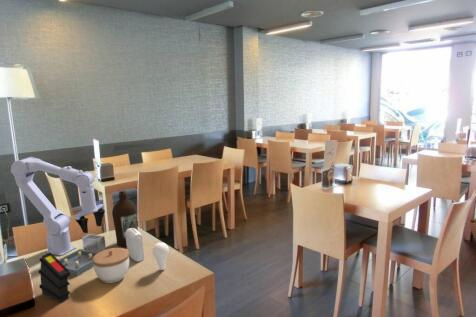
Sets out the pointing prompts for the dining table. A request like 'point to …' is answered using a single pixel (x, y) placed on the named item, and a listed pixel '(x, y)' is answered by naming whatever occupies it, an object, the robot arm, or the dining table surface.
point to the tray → (78, 261)
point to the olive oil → (124, 217)
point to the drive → (94, 243)
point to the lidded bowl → (111, 264)
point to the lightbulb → (160, 254)
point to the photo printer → (134, 244)
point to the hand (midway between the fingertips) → (92, 229)
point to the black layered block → (54, 278)
